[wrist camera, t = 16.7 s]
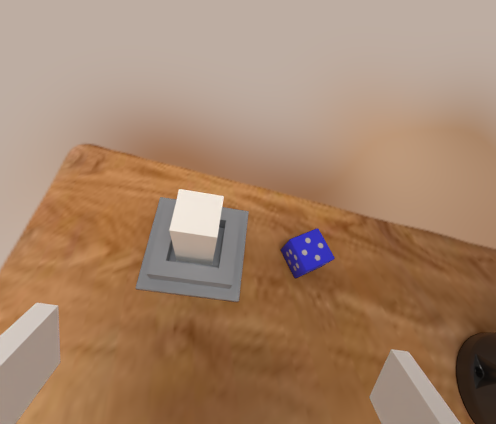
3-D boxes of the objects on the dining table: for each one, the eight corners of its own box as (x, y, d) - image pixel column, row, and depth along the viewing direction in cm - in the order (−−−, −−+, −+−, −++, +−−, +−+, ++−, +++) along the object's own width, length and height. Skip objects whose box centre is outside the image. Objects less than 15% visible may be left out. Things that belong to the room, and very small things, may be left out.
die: (306, 238, 45) (318, 227, 41) (321, 266, 43) (335, 258, 39) (280, 249, 44) (289, 239, 39) (294, 279, 42) (306, 271, 37)
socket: (247, 214, 45) (251, 203, 41) (237, 302, 39) (242, 298, 35) (161, 199, 44) (157, 187, 40) (136, 289, 37) (130, 284, 34)
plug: (216, 233, 42) (223, 196, 31) (211, 265, 39) (217, 237, 29) (183, 228, 41) (179, 188, 30) (176, 260, 39) (169, 230, 28)
